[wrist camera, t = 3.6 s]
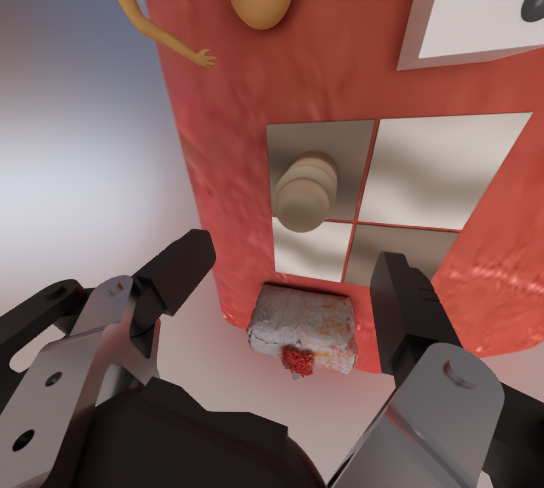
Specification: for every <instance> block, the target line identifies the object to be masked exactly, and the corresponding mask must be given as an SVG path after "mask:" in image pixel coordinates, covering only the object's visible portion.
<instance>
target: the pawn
mask: <svg viewBox="0 0 544 488" xmlns="http://www.w3.org/2000/svg"><path fill="white" fill-rule="evenodd" d="M337 178H338V170H337V166H336V164H335V162H334V160H333V159H332V158H331V157H330V156H329V155H327V154H326V153H324V152H321V151H309V152H306V153H304V154H302V155H300V156H299V157H298V158H297V159H296V160H295V161H294V163H293V164H292V165H291V167H290V168H289V169H288V170H287V172H286V173H285V174H284V175H283V177H282V178H281V179H280V181H279V182H278V184H277V186H276V189H275V213H276V216H277V218H278V220H279V222H280V223H281V224H282V225H283V226H284V227H285V228H287V229H288V230H290V231H293V232H297V233H305V232H309V231H312V230H314V229H316V228H317V227H319V226H320V225H321V224H322V223H323V221H324V220H325V219H327V218H328V217H329V216H330V214H331V213H332V211H333V209H334V207H335V203H336V192H337Z"/></svg>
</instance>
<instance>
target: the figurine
mask: <svg viewBox="0 0 544 488" xmlns="http://www.w3.org/2000/svg"><path fill="white" fill-rule="evenodd" d="M230 1H231V3H232V5H233V7H234V9H235V11H236V13H237V14H238V16H239V17H240V18H241V19H242V20H243V21H244V22H245V23H246V24H247V25H248V26H250V27H252V28H254V29H258V30H265V29H269V28H271V27H273V26H275V25H276V24H277V23H278V22H279V21H280V20H281V19H282V18H283V16H284V15H285V13H286V12H287V10H288V8H289V5H290V3H291V0H230ZM118 2H119V3H120V5H121V7H122V8H123V10H124V12H125V13H126V15H127V16H128V18H129V19H130V21H131V22H132V23H133V25H134V26H135V27H136V28H137V29H138V30H139V31H140V32H141V33H143V34H144V35H146V36H148V37H150V38H152V39H154V40H157V41H159V42H161V43H163V44H164V45H166V46H167V47H169V48H171V49H172V50H174V51H175V52H177V53H179V54H180V55H183V56H185V57H187V58H189V59H190V60H192V61H193V62H194V63H196V64H198V65H200V66H203V67H206V68H212V66H209V65H216V63H214V62H210V61H209V60H214V59H217V57H212V56H205V53H206V52H208V51H209V49H204V50H202V51H200V52H199V53H195V52H194V51H193V50H192V49H191V48H189V47H188V46H187V45H186V44H185V43H184V42H182V41H181V40H180V39H178V38H177V37H175V36H174V35H172V34H170V33H168V32H166V31H165V30H163V29H162V28H161V27H159V26H158V25H157V24H155V23H154V22H152V21H150V20H149V19H147V18H146V17H144V15H143V14H142V12H141V10H140V8H139V6H138V4H137V1H136V0H118Z"/></svg>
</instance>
